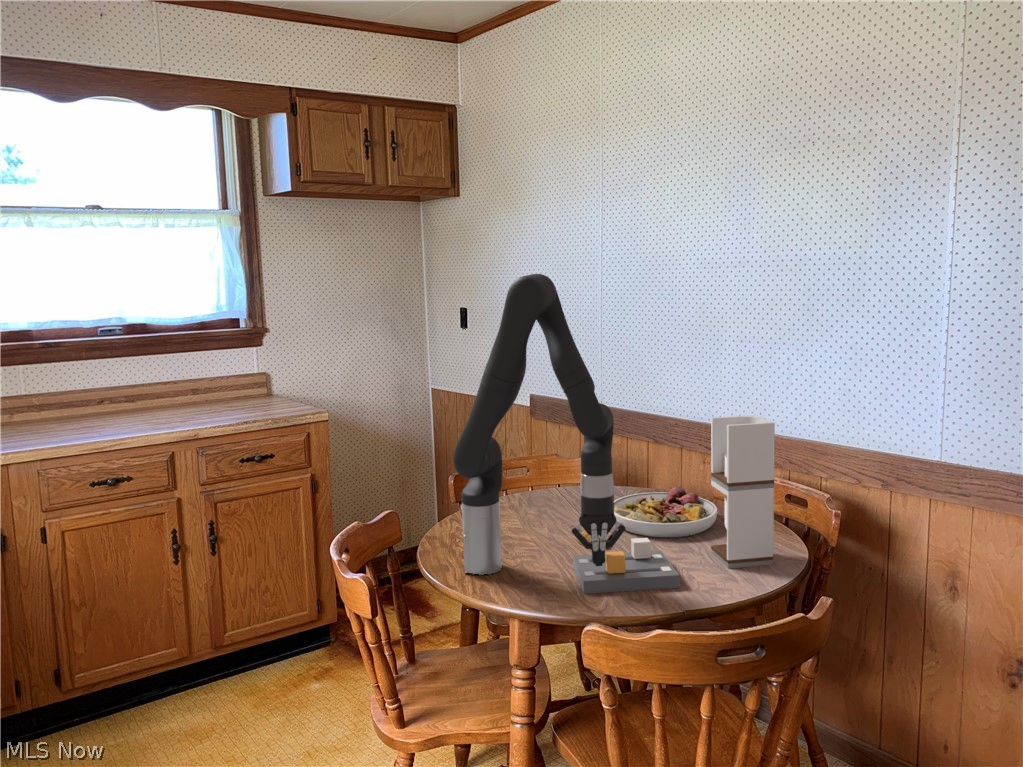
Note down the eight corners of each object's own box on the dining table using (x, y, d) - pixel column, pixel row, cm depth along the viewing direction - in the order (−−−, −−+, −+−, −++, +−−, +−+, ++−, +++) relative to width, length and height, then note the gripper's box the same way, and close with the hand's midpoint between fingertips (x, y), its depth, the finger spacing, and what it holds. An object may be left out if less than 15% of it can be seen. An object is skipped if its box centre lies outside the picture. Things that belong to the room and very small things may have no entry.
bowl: (698, 548, 205) (698, 519, 204) (593, 532, 220) (592, 505, 219) (729, 515, 231) (729, 489, 229) (633, 503, 246) (632, 478, 245)
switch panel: (583, 593, 178) (583, 580, 178) (573, 567, 194) (572, 555, 194) (679, 587, 180) (679, 574, 179) (661, 562, 195) (661, 550, 195)
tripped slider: (608, 573, 181) (608, 556, 180) (605, 568, 184) (605, 552, 183) (625, 572, 181) (625, 555, 180) (622, 567, 184) (622, 551, 183)
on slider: (634, 558, 189) (633, 542, 188) (631, 554, 192) (631, 538, 191) (650, 557, 189) (650, 541, 189) (647, 553, 192) (647, 537, 192)
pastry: (613, 547, 207) (613, 534, 207) (592, 552, 204) (591, 538, 204) (594, 537, 216) (594, 524, 215) (573, 542, 213) (573, 528, 212)
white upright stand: (753, 549, 202) (755, 414, 197) (773, 564, 191) (774, 422, 186) (711, 553, 200) (711, 417, 195) (728, 568, 190) (728, 425, 185)
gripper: (570, 498, 175) (572, 572, 177) (629, 495, 176) (630, 569, 178) (565, 489, 182) (567, 560, 185) (622, 486, 183) (623, 557, 186)
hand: (598, 564), depth 181 cm, fingers closed
